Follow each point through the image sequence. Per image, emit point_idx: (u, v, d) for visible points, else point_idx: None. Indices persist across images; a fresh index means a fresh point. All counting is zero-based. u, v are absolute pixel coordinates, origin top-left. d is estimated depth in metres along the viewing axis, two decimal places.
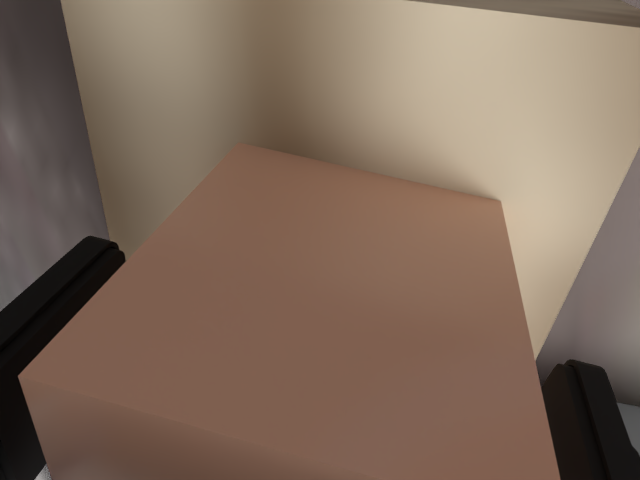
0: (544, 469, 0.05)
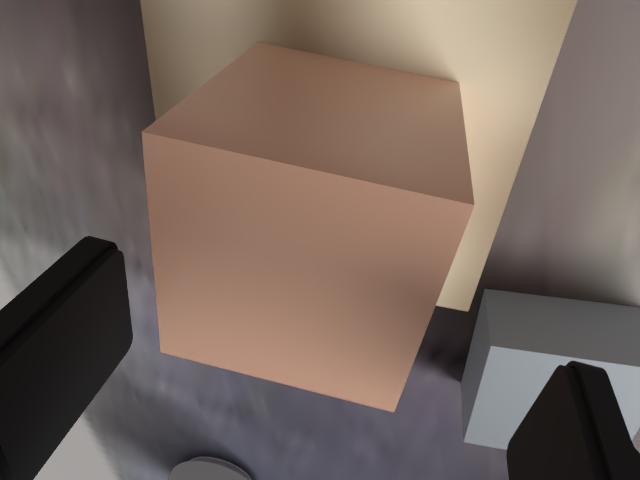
0: (463, 185, 0.09)
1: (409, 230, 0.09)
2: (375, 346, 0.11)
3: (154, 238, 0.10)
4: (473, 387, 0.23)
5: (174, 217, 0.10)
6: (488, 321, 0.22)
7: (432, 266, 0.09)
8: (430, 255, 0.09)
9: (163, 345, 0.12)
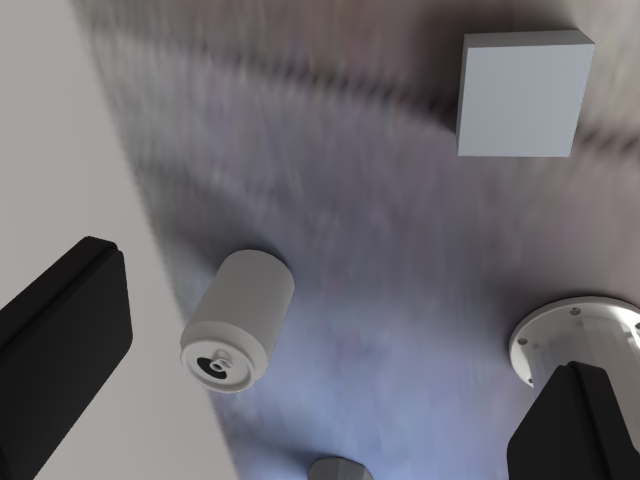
0: None
1: None
2: None
3: None
4: (461, 106, 0.32)
5: None
6: (466, 42, 0.30)
7: None
8: None
9: None
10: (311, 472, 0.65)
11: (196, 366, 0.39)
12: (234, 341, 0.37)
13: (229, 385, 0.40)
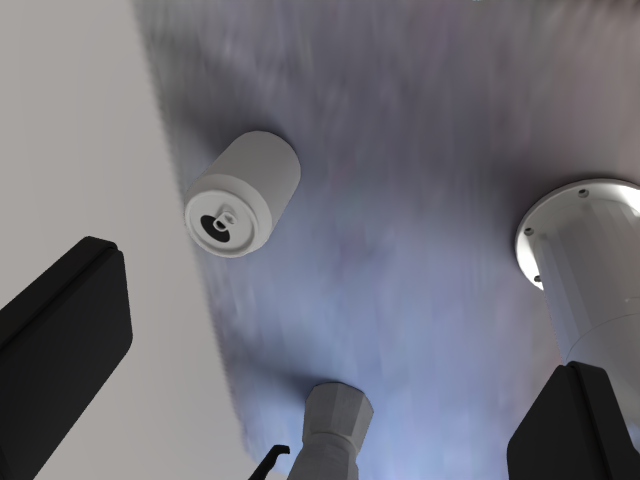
0: None
1: None
2: None
3: None
4: None
5: None
6: None
7: None
8: None
9: None
10: (309, 399, 0.64)
11: (199, 227, 0.39)
12: (239, 194, 0.37)
13: (231, 250, 0.40)
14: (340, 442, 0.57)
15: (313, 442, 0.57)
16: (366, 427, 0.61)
